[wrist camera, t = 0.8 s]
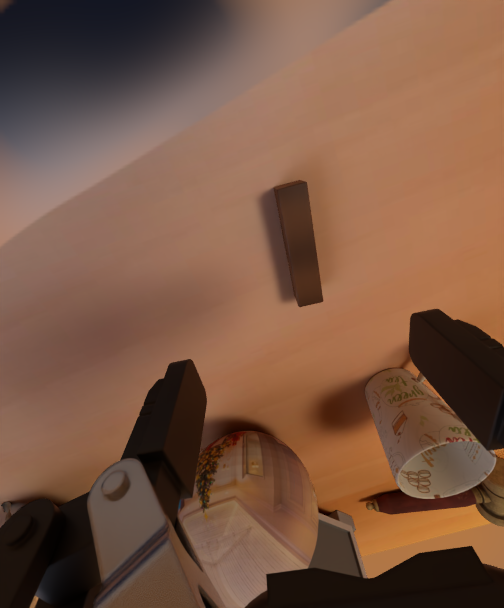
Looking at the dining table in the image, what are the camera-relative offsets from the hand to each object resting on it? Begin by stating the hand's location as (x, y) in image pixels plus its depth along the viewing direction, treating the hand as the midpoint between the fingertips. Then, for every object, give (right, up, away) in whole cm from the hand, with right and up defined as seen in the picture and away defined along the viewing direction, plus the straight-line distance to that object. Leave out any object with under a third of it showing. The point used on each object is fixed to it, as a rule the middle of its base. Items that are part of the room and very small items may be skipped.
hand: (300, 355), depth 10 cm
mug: (+15, -6, +21) cm, 27 cm away
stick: (+2, +7, +14) cm, 16 cm away
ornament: (-2, -17, +26) cm, 31 cm away
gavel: (+26, -26, +32) cm, 49 cm away
